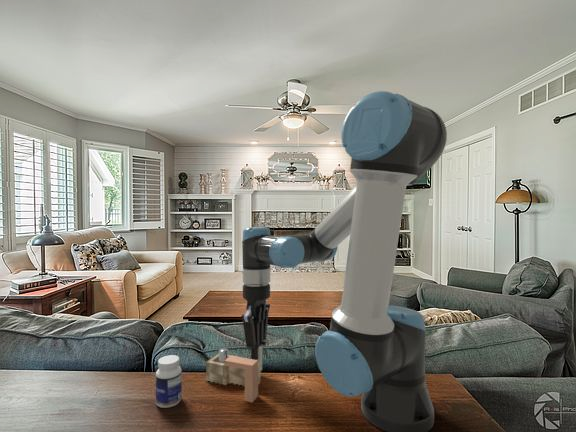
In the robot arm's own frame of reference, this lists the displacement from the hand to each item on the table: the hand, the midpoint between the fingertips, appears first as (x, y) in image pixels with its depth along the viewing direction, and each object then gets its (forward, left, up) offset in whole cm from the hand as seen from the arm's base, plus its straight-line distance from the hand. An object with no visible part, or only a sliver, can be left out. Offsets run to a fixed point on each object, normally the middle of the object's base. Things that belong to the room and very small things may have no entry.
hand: (256, 369), depth 88 cm
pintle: (+8, +5, -1) cm, 9 cm away
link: (+4, +5, -1) cm, 6 cm away
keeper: (-1, +11, -1) cm, 11 cm away
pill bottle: (+14, +19, -2) cm, 23 cm away
